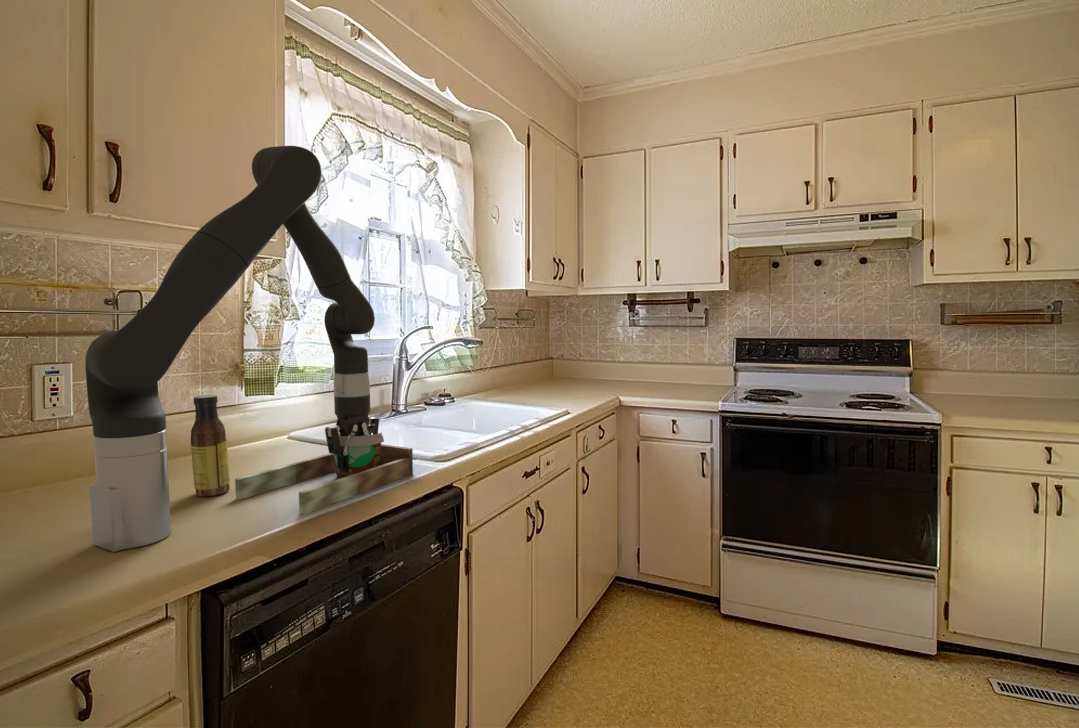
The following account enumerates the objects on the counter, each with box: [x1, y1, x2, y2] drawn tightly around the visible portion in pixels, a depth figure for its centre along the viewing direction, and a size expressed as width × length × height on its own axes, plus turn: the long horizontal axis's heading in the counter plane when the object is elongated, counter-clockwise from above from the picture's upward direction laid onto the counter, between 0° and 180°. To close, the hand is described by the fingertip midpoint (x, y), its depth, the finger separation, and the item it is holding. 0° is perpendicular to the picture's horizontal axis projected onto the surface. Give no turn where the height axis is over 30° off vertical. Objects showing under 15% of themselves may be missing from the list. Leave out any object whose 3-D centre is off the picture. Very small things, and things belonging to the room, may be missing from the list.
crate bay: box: [234, 443, 414, 515], centre depth 117 cm, size 30×19×6 cm, turn 153°
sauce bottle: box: [190, 394, 231, 498], centre depth 110 cm, size 6×6×20 cm
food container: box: [334, 432, 385, 480], centre depth 122 cm, size 12×6×10 cm, turn 80°
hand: (354, 467), depth 123 cm, fingers closed on food container, 5 cm apart
